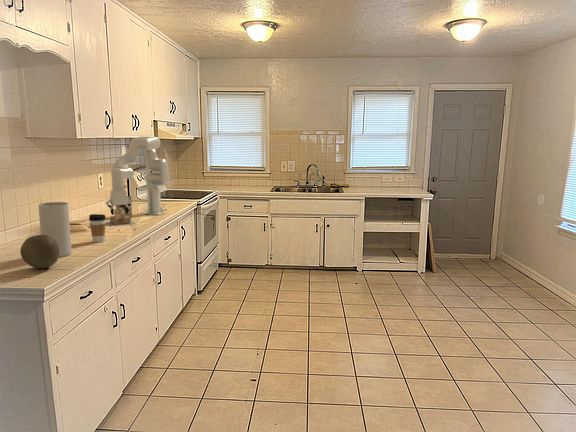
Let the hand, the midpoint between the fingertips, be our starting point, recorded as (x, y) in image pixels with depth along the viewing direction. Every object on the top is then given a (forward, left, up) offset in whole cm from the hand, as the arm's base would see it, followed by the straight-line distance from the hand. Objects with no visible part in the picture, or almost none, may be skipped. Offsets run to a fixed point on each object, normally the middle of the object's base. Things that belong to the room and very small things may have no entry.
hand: (119, 213), depth 274 cm
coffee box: (-9, -23, -8) cm, 26 cm away
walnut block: (0, 0, -6) cm, 6 cm away
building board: (0, 0, -8) cm, 8 cm away
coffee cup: (+22, +39, -8) cm, 45 cm away
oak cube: (0, 0, -2) cm, 2 cm away
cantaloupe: (+54, +79, -8) cm, 96 cm away
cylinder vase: (+45, +57, -8) cm, 73 cm away
